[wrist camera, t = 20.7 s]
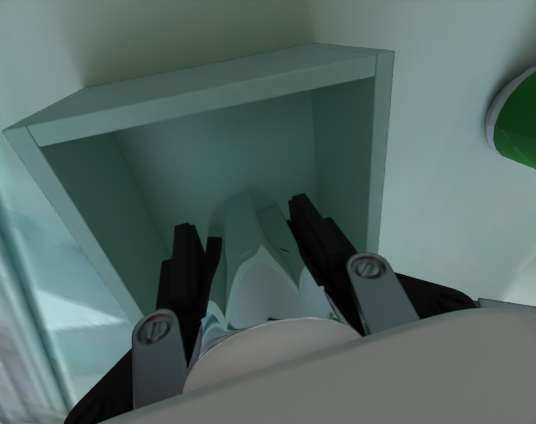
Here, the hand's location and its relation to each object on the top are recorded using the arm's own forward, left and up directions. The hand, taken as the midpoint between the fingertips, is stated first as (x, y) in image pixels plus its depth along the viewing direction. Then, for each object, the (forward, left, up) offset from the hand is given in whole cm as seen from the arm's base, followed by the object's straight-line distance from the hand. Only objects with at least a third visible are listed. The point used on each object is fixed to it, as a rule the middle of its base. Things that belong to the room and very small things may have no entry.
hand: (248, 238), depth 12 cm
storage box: (+2, 0, -10) cm, 11 cm away
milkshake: (0, 0, -2) cm, 2 cm away
